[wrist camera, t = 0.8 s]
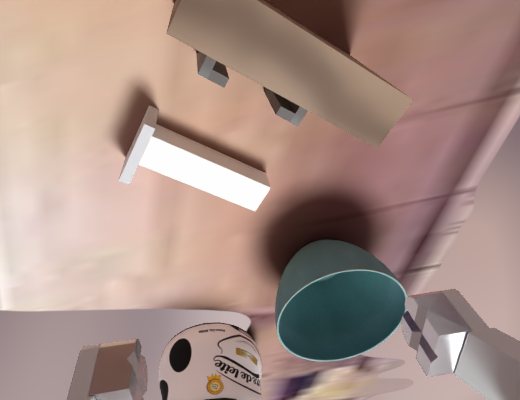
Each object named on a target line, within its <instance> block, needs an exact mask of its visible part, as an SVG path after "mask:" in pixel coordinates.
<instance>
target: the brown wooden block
mask: <svg viewBox="0 0 520 400" xmlns="http://www.w3.org/2000/svg"><path fill="white" fill-rule="evenodd" d="M167 34H168V35H170V36H172V37H174V38H176V39H177V40H179V41H181V42H183V43H185V44H187V45H188V46H190V47H192V48H194V49H196V50H198V53H197V67H198V74H199V75H201V76H203V77H205V78H207V79H209V80H210V81H212V82H214V83H216V84H218V85H220V86H222V87H225V85H226V83H227V81H228V79H229V77H228V73H227V70H226V67H225V66H227V67H229V68H231V69H232V70H234V71H236V72H238V73H240V74H242V75H243V76H245V77H247V78H249V79H251V80H253V81H254V82H256V83H258V84H260V85H262V86H264V87H265V89H264V92H265V94H266V96H267V98H268V100H269V102H270V104H271V106H272V108H273V110H274V112H275V114H276V115H278V116H280V117H281V118H283V119H285V120H287V121H289V122H291V123H293V124H295V125H297V126H298V125H299V124H300V122H301V121H302V119H303V118H304V116H305V114H306V113H307V111H309V112H311V113H313V114H315V115H317V116H319V117H320V118H322V119H324V120H326V121H328V122H330V123H331V124H333V125H335V126H337V127H339V128H341V129H342V130H344V131H346V132H348V133H350V134H352V135H353V136H355V137H357V138H359V139H361V140H363V141H364V142H366V143H368V144H370V145H372V146H374V147H375V148H378V146H379V145H380V144H381V142H382V141H383V140H384V138H385V137H386V136H387V134H388V133H389V132H390V130H391V129H392V128H393V126H394V125H395V124H396V122H397V121H398V120H399V118H400V117H401V116H402V114H403V113H404V112H405V110H406V109H407V108H408V107H409V105H410V104H411V103H412V101H413V99H411V98H410V97H409V96H407V95H406V94H404V93H403V92H401V91H400V90H399V89H397V88H396V87H394V86H393V85H391V84H390V83H389V82H387V81H386V80H384V79H383V78H381V77H380V76H379V75H377V74H376V73H374V72H373V71H371V70H370V69H369V68H367V67H366V66H364V65H363V64H361V63H360V62H359V61H357V60H356V59H354V58H353V57H351V56H350V55H348V54H347V53H345V52H344V51H342V50H341V49H339V48H338V47H336V46H334V45H333V44H331V43H330V42H328V41H327V40H325V39H324V38H322V37H320V36H319V35H317V34H316V33H314V32H313V31H311V30H310V29H308V28H306V27H305V26H303V25H302V24H300V23H299V22H297V21H296V20H294V19H292V18H291V17H289V16H288V15H286V14H285V13H283V12H282V11H280V10H278V9H277V8H275V7H274V6H272V5H271V4H269V3H268V2H266V1H264V0H176V1H175V3H174V6H173V10H172V14H171V18H170V22H169V26H168V30H167Z"/></svg>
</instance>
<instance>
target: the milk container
mask: <svg viewBox="0 0 520 400" xmlns="http://www.w3.org/2000/svg"><path fill="white" fill-rule="evenodd" d="M261 376H262V362H261V357H260V353H259V350H258V348H257V345H256V343H255V341H254V340H253V338H252V337H251V336H250V335H249V334H248V333H247V332H246V331H244V330H243V329H241V328H239V327H237V326H234V325H230V324H225V323H203V324H199V325H196V326H193V327H190V328H187V329H185V330H184V331H182V332H180V333H179V334H177V335H175V336H174V337H173V338H172V339H171V340H170V342H169V343H168V344H167V346H166V347H165V349H164V351H163V354H162V357H161V360H160V365H159V385H160V389H161V394H162V399H163V400H262V398H261V391H260V384H261Z"/></svg>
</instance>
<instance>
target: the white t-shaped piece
mask: <svg viewBox="0 0 520 400" xmlns="http://www.w3.org/2000/svg"><path fill="white" fill-rule="evenodd" d="M158 111H159V109H157V108H155V107H152V106H150V105H149V106H148V109H147V111H146V113H145V115H144V118H143V120H142V122H141V124H140V126H139V129H138V131H137V133H136V135H135V138H134V140H133V142H132V144H131V147H130V149H129V151H128V153H127V156H126V158H125V161H124V165H123V168H122V171H121V175H120V178H119V181H120V182H123V183H125V184H128V185H129V184H130V182H131V180H132V178H133V175H134V173H135V171H136V169H137V167H138V165H141V166H143V167H146V168H148V169H151V170H153V171H156V172H158V173H160V174H163V175H165V176H168V177H170V178H173V179H175V180H178V181H180V182H183V183H185V184H188V185H190V186H193V187H195V188H198V189H200V190H203V191H205V192H208V193H210V194H213V195H215V196H218V197H220V198H223V199H225V200H228V201H230V202H233V203H235V204H238V205H240V206H243V207H245V208H248V209H250V210H253V211H256V210H257V208H258V206H259V205H260V203H261V202H262V200H263V199H264V197H265V196H266V194H267V193H268V191H269V190H270V188H271V187H270V184H269V181H268V178H267V175H266V173H265V172H262V171H260V170H258V169H256V168H254V167H251V166H249V165H247V164H245V163H242V162H240V161H238V160H236V159H233V158H231V157H229V156H227V155H225V154H222V153H220V152H218V151H216V150H213V149H211V148H209V147H207V146H205V145H202V144H200V143H198V142H196V141H193V140H191V139H189V138H187V137H184V136H182V135H180V134H178V133H176V132H173V131H171V130H169V129H167V128H164V127H162V126H160V125H158V124H156V122H157V117H158Z"/></svg>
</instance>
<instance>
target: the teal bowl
mask: <svg viewBox="0 0 520 400" xmlns="http://www.w3.org/2000/svg"><path fill="white" fill-rule="evenodd" d="M406 298H407V294H406V292H405V290H404V288H403V286H402V285H401V283H400V282H399V281H398V279H397V278H396V277H395V275H394V274H393V273H392V272H391V271H390V270H389V269H388V268H387V267H386V266H385V265H384V264H383V263H382V262H381V261H379V260H378V259H377V258H376V257H374V256H373V255H372V254H370V253H369V252H367V251H365V250H364V249H362V248H360V247H358V246H356V245H353V244H351V243H347V242H343V241H339V240H329V239H325V240H318V241H314V242H311V243H309V244H307V245H306V246H304V247H303V248H301V249H300V250H299V251H298V252H297V253H296V254H295V255H294V256H293V258H292V259H291V260H290V262H289V263H288V265H287V266H286V268H285V270H284V272H283V274H282V277H281V280H280V283H279V286H278V291H277V297H276V307H275V318H276V329H277V334H278V338H279V340H280V342H281V344H282V345H283V346H284V347H285V349H287V350H288V351H289V352H290V353H292V354H294V355H295V356H298V357H300V358H303V359H307V360H312V361H337V360H343V359H348V358H351V357H355V356H357V355H360V354H363V353H364V352H367V351H369V350H371V349H373V348H375V347H376V346H378V345H379V344H381V343H382V342H384V341H385V340H386V339H387V338H388V337H389V336H391V335H392V334H393V333H394V332H395V331H396V330H397V328H398V327H399V326H400V324H401V320H402V315H403V314H404V313H405V312H406V311H407V309H406V307H405V300H406Z"/></svg>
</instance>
